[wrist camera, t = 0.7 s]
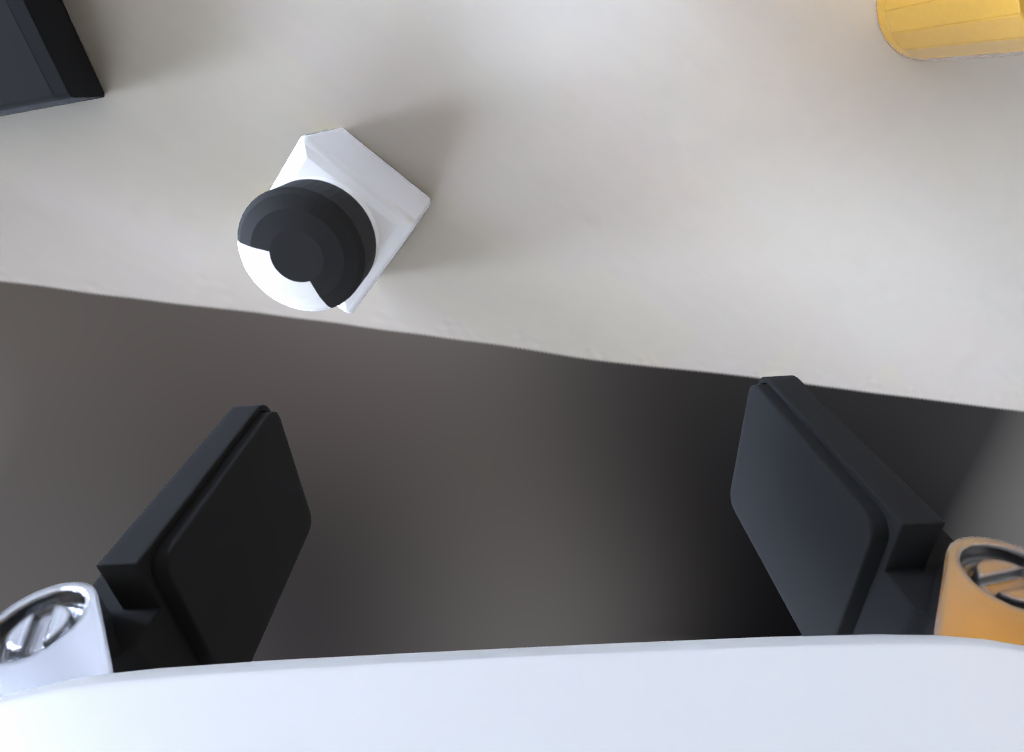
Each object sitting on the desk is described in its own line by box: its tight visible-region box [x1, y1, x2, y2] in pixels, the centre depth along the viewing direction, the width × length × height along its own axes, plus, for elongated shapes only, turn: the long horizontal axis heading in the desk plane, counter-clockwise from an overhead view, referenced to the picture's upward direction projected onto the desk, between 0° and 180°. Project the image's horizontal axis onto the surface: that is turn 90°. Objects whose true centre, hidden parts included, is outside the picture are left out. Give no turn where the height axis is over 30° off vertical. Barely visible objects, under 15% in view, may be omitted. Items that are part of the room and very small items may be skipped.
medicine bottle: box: [238, 128, 431, 313], centre depth 30 cm, size 7×7×12 cm
